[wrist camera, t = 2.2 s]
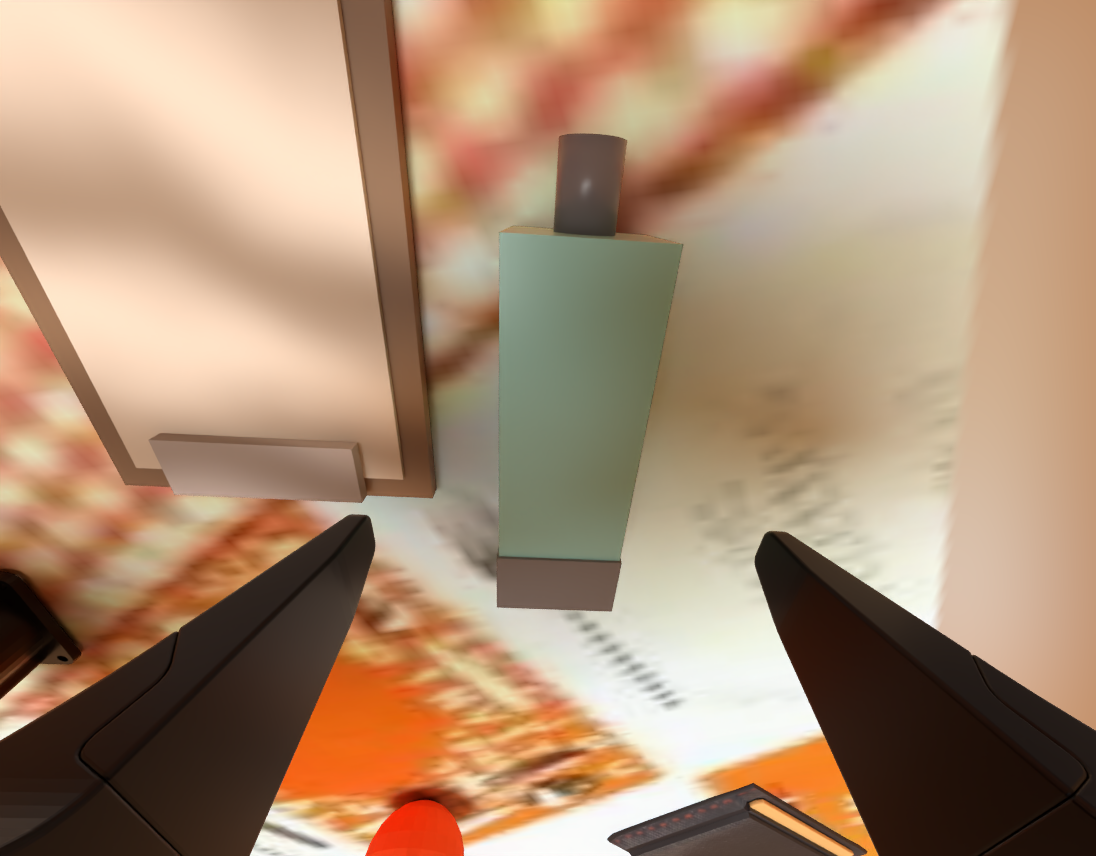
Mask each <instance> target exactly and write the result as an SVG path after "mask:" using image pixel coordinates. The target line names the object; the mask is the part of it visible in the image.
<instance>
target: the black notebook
mask: <svg viewBox="0 0 1096 856" xmlns="http://www.w3.org/2000/svg"><path fill="white" fill-rule="evenodd" d="M607 840H608V841H609V842H610V843H612V844H614V845H616V846H618V847H620V848H622V849H624V850H626V851H627V852H629V853H630V854H631V856H861V855H864V854H866V853H867V851H866V850H865V849H864V848H862V847H861V846H859V845H858V844H856V843H854V842H852V841H850V840H848V839H846V838H845V837H843V836H841V835H839V834H838V833H836V832H834V831H833V830H831V829H829V828H828V827H826V826H824V825H823V824H821V823H819V822H818V821H816V820H814V819H813V818H811V817H809V816H808V815H806V814H804V813H803V812H801V811H799V810H798V809H796V808H794V807H792V806H791V805H789V804H787V803H786V802H784V801H782V800H781V799H779V798H777V797H776V796H774V795H772V794H771V793H769V792H767V791H766V790H764V789H762V788H761V787H759V786H757V785H756V784H754V783H752V784H750V785H747V786H744V787H742V788H739V789H736V790H733V791H730V792H727V793H724V794H721V795H717V796H714V797H712V798H709V799H706V800H703V801H701V802H698V803H695V804H692V805H689V806H687V807H684V808H681V809H678V810H676V811H673V812H670V813H667V814H665V815H662V816H659V817H656V818H653V819H651V820H648V821H645V822H642V823H640V824H637V825H634V826H631V827H629V828H626V829H624V830H621V831H618V832H616V833H613V834H612V835H611V836H610V837H609V838H607Z"/></svg>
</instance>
